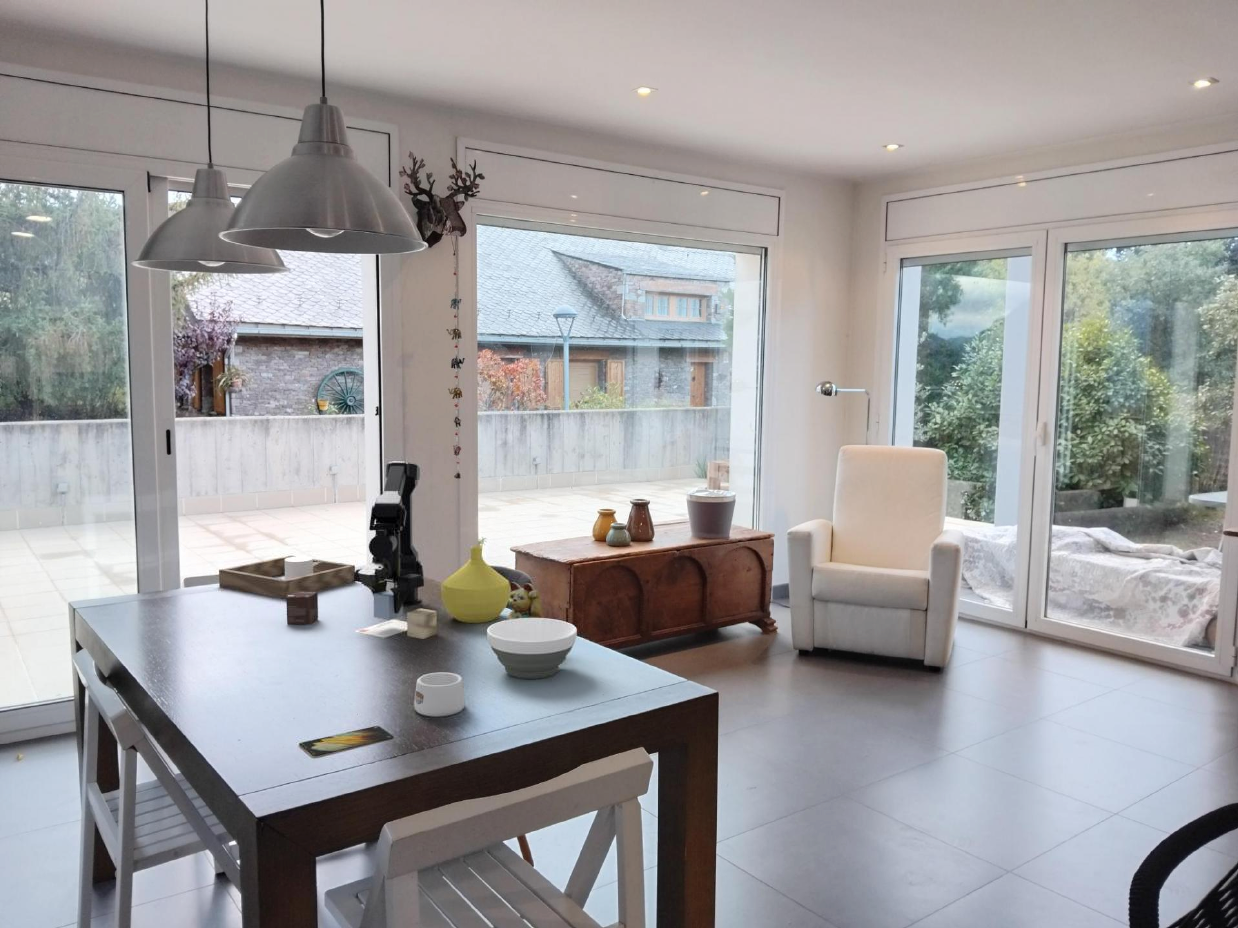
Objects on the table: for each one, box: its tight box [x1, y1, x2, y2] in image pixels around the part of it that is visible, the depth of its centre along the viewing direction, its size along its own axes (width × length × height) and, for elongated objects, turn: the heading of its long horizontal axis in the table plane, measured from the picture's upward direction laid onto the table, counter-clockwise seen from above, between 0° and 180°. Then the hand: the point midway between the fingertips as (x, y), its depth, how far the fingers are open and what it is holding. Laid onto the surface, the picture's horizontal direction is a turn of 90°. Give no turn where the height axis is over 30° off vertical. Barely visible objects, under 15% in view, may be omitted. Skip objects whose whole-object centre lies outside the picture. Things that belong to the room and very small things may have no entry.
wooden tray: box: [218, 555, 356, 600], centre depth 288 cm, size 27×28×5 cm
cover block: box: [406, 608, 437, 640], centre depth 235 cm, size 5×5×6 cm
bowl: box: [486, 617, 578, 680], centre depth 208 cm, size 20×20×10 cm
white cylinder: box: [284, 555, 322, 580], centre depth 289 cm, size 20×19×8 cm
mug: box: [413, 671, 466, 718], centre depth 185 cm, size 12×10×6 cm
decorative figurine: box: [506, 581, 543, 620], centre depth 230 cm, size 10×8×15 cm
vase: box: [440, 545, 512, 624], centre depth 251 cm, size 18×18×19 cm
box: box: [285, 591, 319, 626], centre depth 246 cm, size 6×6×7 cm
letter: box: [353, 618, 407, 639], centre depth 241 cm, size 14×10×1 cm
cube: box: [373, 589, 404, 621], centre depth 240 cm, size 5×5×6 cm
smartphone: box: [298, 725, 395, 759], centre depth 168 cm, size 7×1×15 cm
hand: (388, 611), depth 240 cm, fingers closed on cube, 5 cm apart
